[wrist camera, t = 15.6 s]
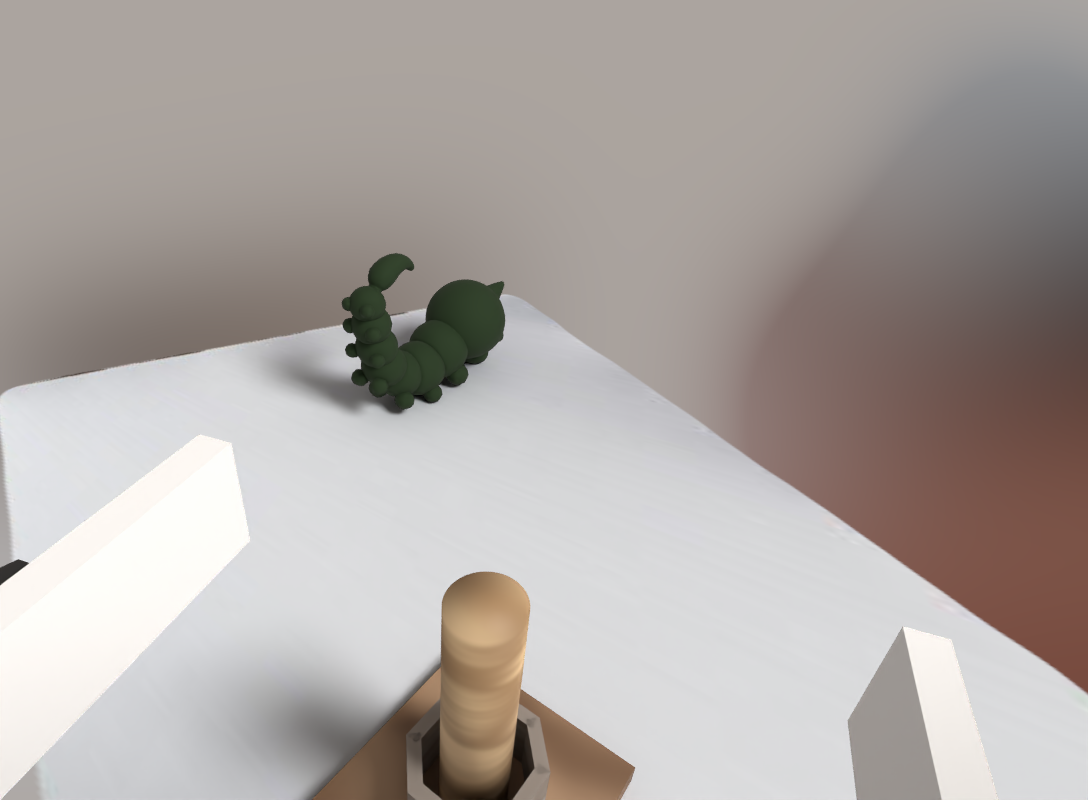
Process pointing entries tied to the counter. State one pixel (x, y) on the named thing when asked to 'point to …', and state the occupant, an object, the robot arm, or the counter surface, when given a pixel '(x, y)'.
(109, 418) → the counter surface
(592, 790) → the cup bracket
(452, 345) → the toy figurine
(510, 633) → the oak cylinder
